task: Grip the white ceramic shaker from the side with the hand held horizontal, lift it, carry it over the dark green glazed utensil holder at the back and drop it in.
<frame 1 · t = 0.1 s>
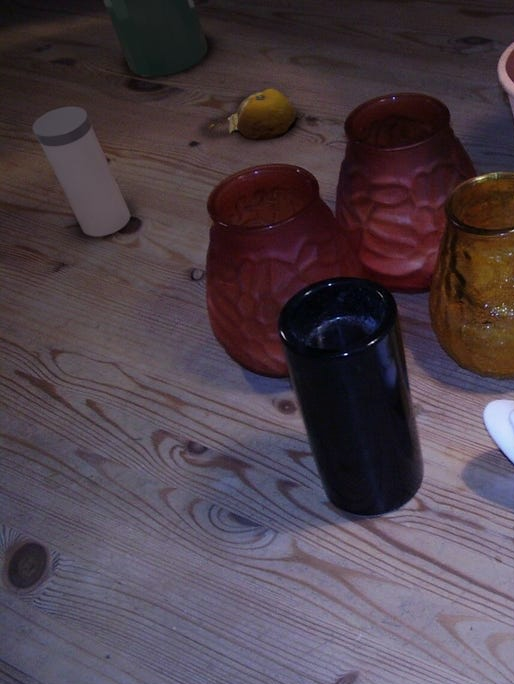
fruit: (259, 123, 101), on the table
holder: (169, 60, 112), on the table
shaker: (108, 225, 91), on the table
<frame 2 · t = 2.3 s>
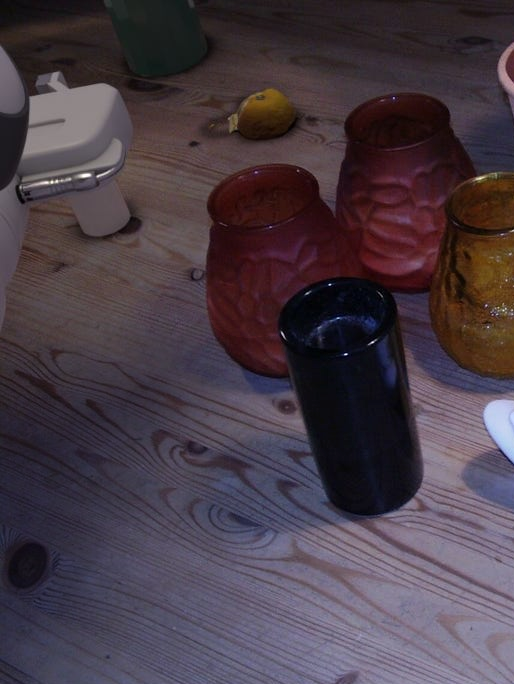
nothing on the table moved.
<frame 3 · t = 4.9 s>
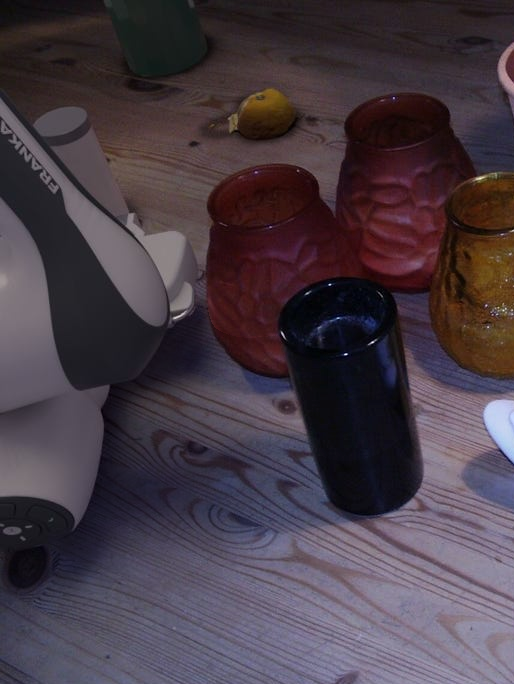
hand: (70, 231, 80), 6 cm above the table, tool horizontal, fingers open, 8 cm apart
nothing on the table moved.
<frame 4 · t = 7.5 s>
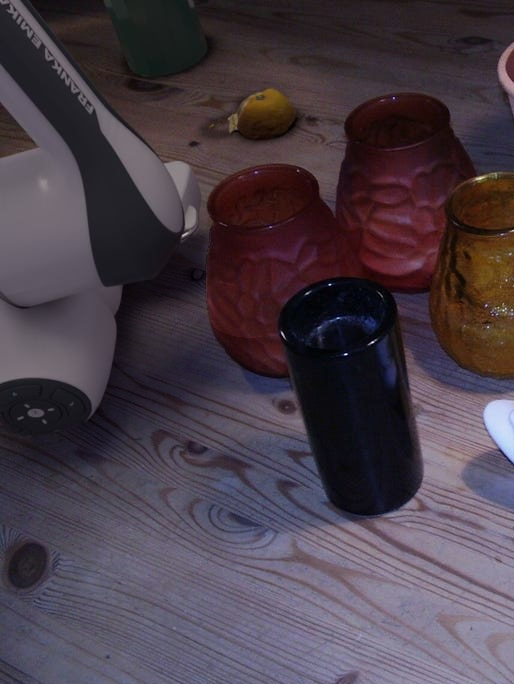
hand: (83, 165, 87), 6 cm above the table, tool horizontal, fingers closed on shaker, 4 cm apart
shaker: (108, 225, 91), on the table, touching gripper
everything else where it was.
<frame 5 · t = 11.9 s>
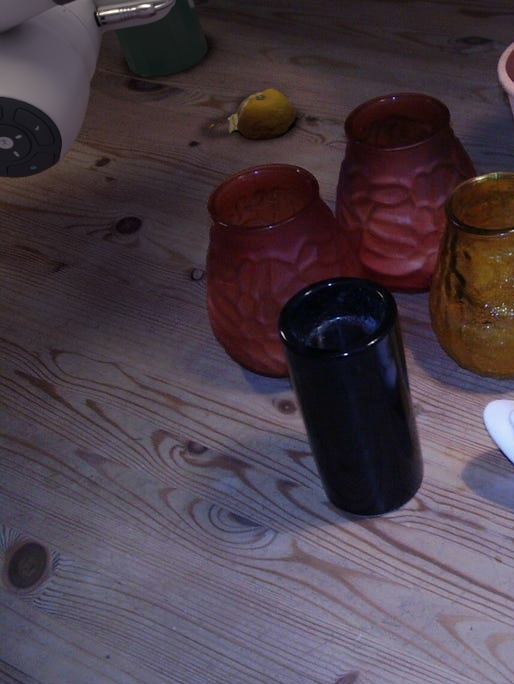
shaker: (88, 28, 90), point 13 cm above the table, touching gripper
everything else where it was.
when the fingers open (13 cm above the table, at t = 16.5 s): shaker drops 7 cm, resting on holder.
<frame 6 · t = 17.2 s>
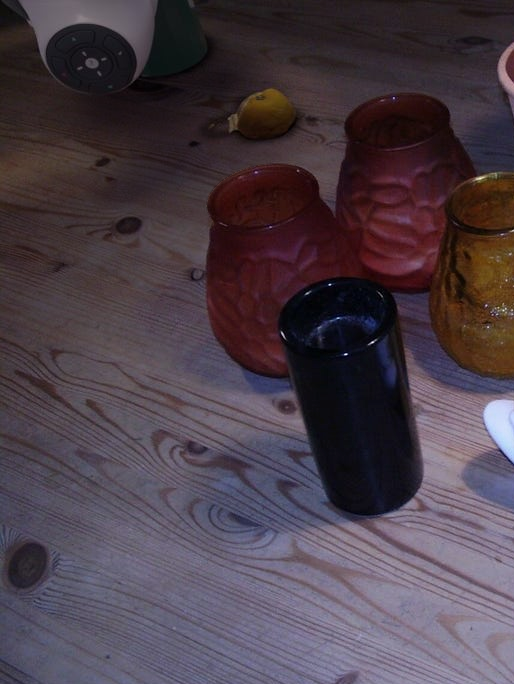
shaker: (168, 54, 111), point 1 cm above the table, touching holder
everything else where it was.
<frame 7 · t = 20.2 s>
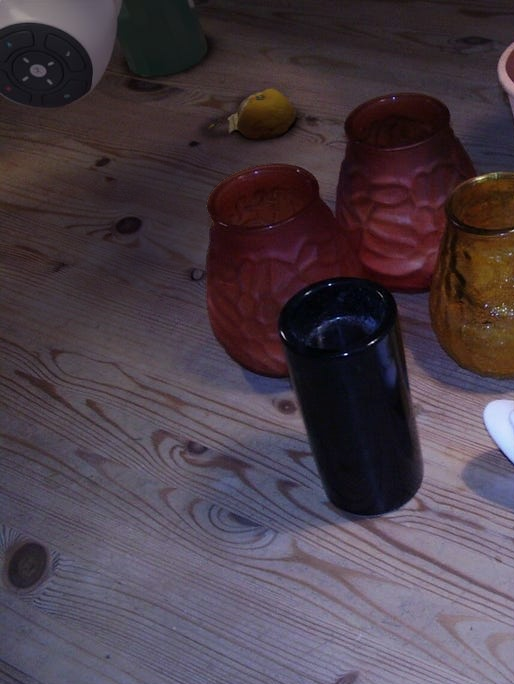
nothing on the table moved.
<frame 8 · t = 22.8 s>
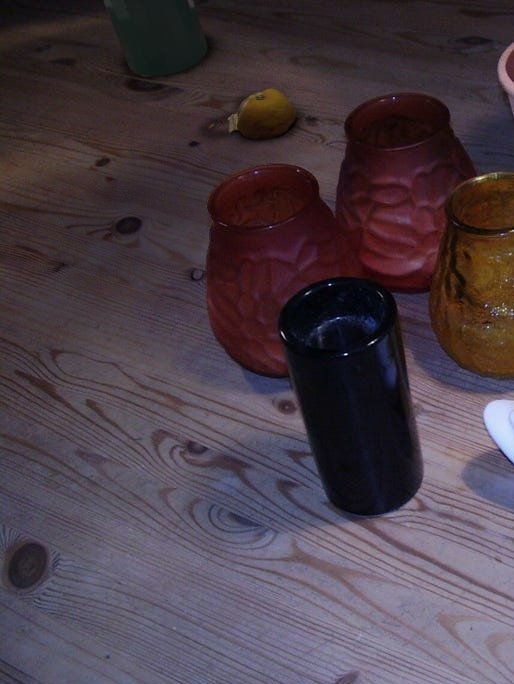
nothing on the table moved.
at the end: shaker 0.0 cm off-centre in the holder, point 0.6 cm above the holder's base; the gripper is holding nothing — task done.
